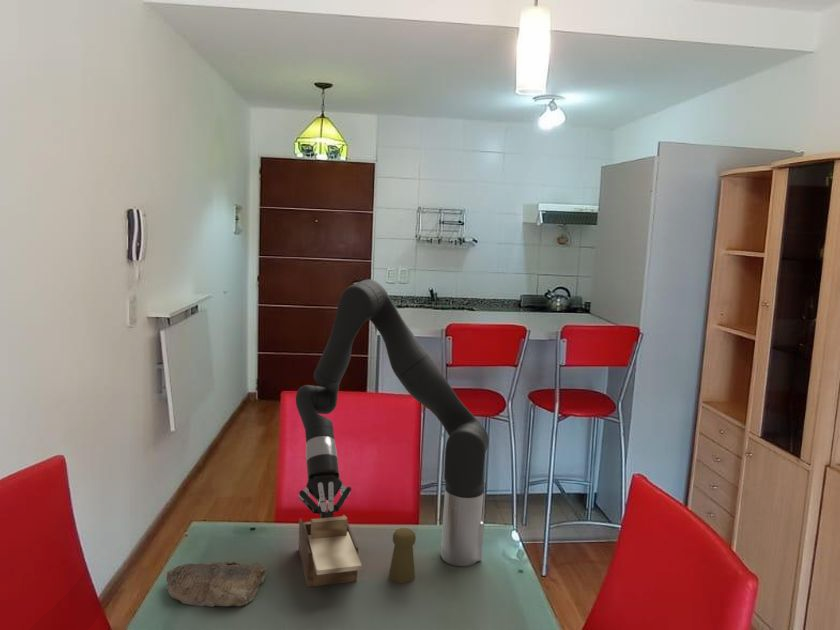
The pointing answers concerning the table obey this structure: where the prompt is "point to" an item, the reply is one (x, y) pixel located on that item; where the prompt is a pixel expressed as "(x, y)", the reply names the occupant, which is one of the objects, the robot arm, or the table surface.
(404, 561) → the tan pawn
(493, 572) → the table surface
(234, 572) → the clay tablet
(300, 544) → the lid box
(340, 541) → the cover plate
